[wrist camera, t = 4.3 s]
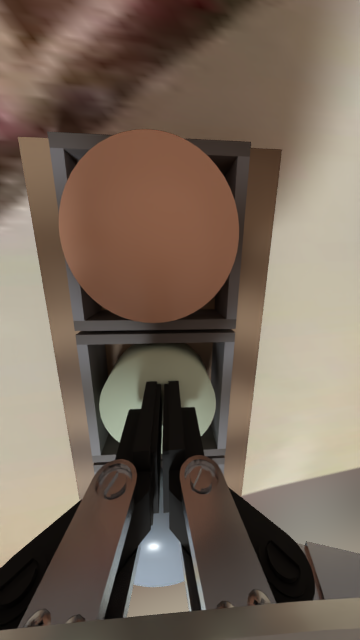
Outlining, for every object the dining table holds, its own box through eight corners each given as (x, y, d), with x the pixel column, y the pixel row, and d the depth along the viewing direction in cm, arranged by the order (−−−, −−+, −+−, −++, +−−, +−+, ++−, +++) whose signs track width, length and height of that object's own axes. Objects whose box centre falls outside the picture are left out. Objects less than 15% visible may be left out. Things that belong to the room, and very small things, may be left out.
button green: (204, 418, 13) (213, 450, 11) (116, 422, 13) (104, 456, 11) (208, 336, 12) (219, 353, 9) (108, 337, 12) (93, 355, 9)
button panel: (228, 474, 20) (252, 551, 14) (96, 482, 19) (68, 568, 13) (256, 176, 13) (318, 111, 8) (53, 168, 12) (-36, 89, 7)
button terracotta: (216, 309, 10) (232, 322, 7) (95, 310, 10) (71, 323, 7) (224, 173, 8) (246, 134, 6) (80, 167, 8) (43, 123, 6)
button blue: (204, 527, 14) (212, 581, 12) (119, 534, 14) (109, 591, 11) (207, 462, 12) (217, 509, 10) (112, 468, 12) (99, 517, 10)
